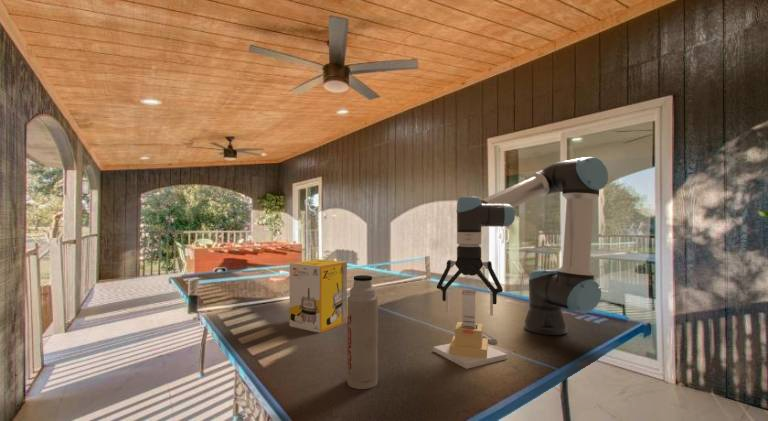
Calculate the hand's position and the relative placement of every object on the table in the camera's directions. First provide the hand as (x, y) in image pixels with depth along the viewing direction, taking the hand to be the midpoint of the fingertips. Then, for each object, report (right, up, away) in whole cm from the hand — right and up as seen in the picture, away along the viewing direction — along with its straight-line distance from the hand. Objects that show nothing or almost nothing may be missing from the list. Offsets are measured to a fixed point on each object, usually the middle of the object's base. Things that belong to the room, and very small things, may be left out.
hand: (469, 313), depth 120 cm
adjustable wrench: (+8, -14, +22) cm, 28 cm away
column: (0, -11, 0) cm, 11 cm away
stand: (0, -13, 0) cm, 13 cm away
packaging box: (-53, -14, +34) cm, 65 cm away
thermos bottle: (-32, -13, -20) cm, 40 cm away
